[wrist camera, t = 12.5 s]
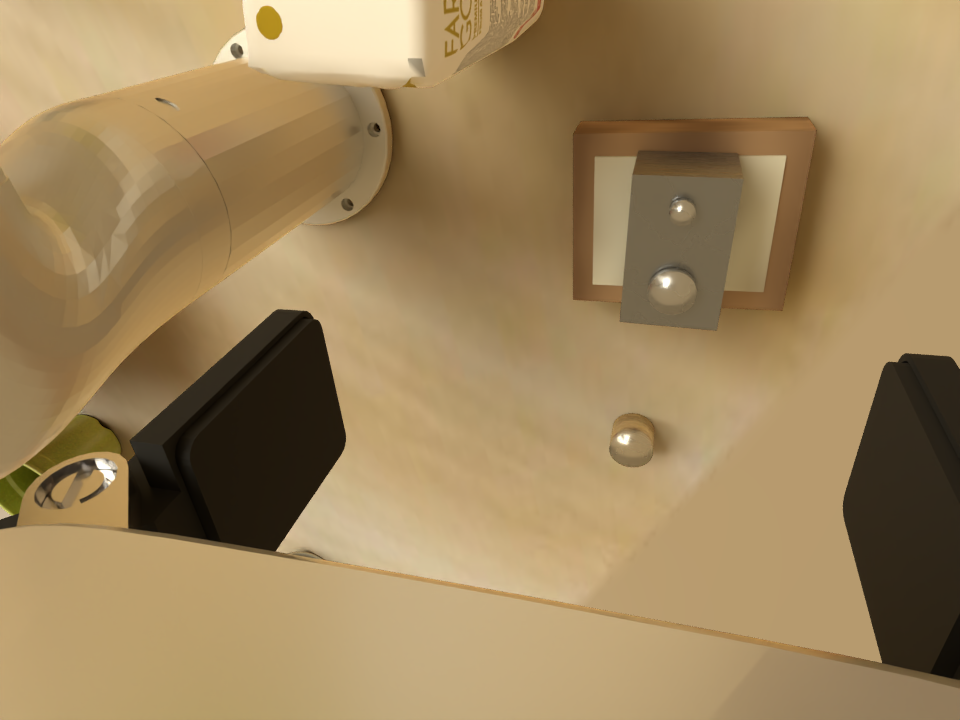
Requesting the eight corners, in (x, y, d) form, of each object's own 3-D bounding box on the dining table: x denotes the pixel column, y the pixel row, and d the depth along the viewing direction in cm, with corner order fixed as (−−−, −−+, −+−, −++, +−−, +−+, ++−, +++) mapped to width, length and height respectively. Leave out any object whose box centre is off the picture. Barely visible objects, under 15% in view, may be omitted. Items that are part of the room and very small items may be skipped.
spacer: (611, 442, 49) (608, 464, 47) (614, 410, 48) (610, 431, 46) (652, 447, 49) (650, 469, 47) (655, 415, 47) (654, 436, 45)
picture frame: (579, 279, 43) (572, 301, 40) (580, 121, 38) (572, 134, 35) (777, 287, 40) (782, 312, 37) (807, 116, 34) (817, 131, 32)
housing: (638, 150, 35) (631, 178, 31) (737, 153, 33) (744, 182, 29) (626, 286, 39) (618, 327, 35) (714, 293, 38) (717, 336, 34)
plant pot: (115, 403, 63) (42, 462, 55) (150, 477, 67) (87, 540, 60) (39, 396, 65) (-39, 451, 58) (78, 468, 70) (10, 527, 63)
